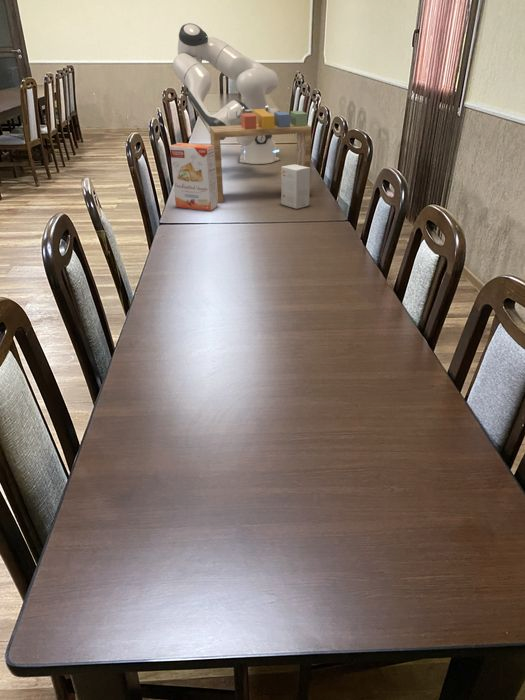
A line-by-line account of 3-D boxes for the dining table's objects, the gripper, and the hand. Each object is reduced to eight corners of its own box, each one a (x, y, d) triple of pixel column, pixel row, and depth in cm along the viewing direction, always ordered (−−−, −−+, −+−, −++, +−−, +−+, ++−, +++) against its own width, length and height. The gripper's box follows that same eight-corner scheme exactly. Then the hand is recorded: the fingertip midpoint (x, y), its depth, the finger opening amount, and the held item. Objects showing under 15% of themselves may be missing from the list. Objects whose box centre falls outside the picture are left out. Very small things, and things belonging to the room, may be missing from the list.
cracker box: (175, 208, 188) (168, 145, 177) (183, 203, 193) (177, 142, 182) (210, 211, 184) (206, 147, 173) (218, 207, 188) (214, 144, 178)
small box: (309, 205, 188) (310, 167, 181) (296, 209, 184) (296, 170, 178) (294, 201, 193) (294, 163, 186) (280, 204, 190) (280, 166, 183)
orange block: (252, 121, 200) (252, 109, 198) (263, 120, 201) (262, 109, 199) (263, 129, 183) (262, 116, 181) (274, 128, 184) (274, 115, 182)
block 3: (290, 123, 194) (290, 111, 192) (301, 122, 194) (301, 110, 192) (295, 126, 187) (296, 114, 185) (307, 126, 188) (307, 113, 186)
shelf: (214, 194, 203) (209, 126, 191) (301, 188, 208) (302, 121, 196) (218, 202, 193) (213, 131, 181) (309, 196, 198) (311, 126, 186)
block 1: (241, 125, 191) (240, 113, 189) (252, 125, 191) (251, 113, 189) (245, 129, 184) (244, 116, 182) (256, 128, 185) (256, 116, 183)
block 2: (274, 124, 193) (274, 112, 191) (285, 123, 193) (285, 111, 191) (279, 127, 186) (279, 114, 184) (290, 126, 187) (290, 114, 185)
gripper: (275, 129, 221) (282, 115, 207) (226, 132, 217) (230, 117, 203) (273, 114, 220) (280, 98, 207) (224, 116, 217) (228, 101, 203)
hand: (255, 108), depth 205 cm, fingers open, 8 cm apart
